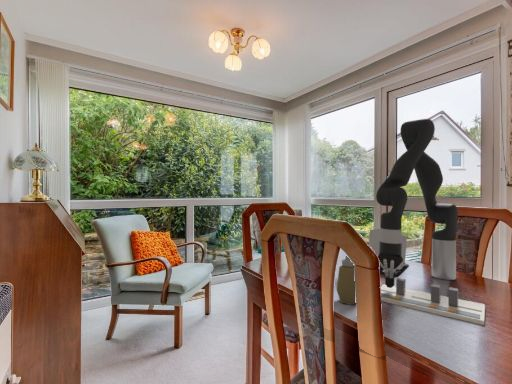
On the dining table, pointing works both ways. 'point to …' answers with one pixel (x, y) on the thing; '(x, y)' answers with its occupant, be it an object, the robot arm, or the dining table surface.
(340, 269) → the squeeze bottle
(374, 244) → the electrical switch box
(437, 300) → the slider middle
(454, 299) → the slider
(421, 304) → the switch panel
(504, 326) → the dining table surface
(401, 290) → the slider
